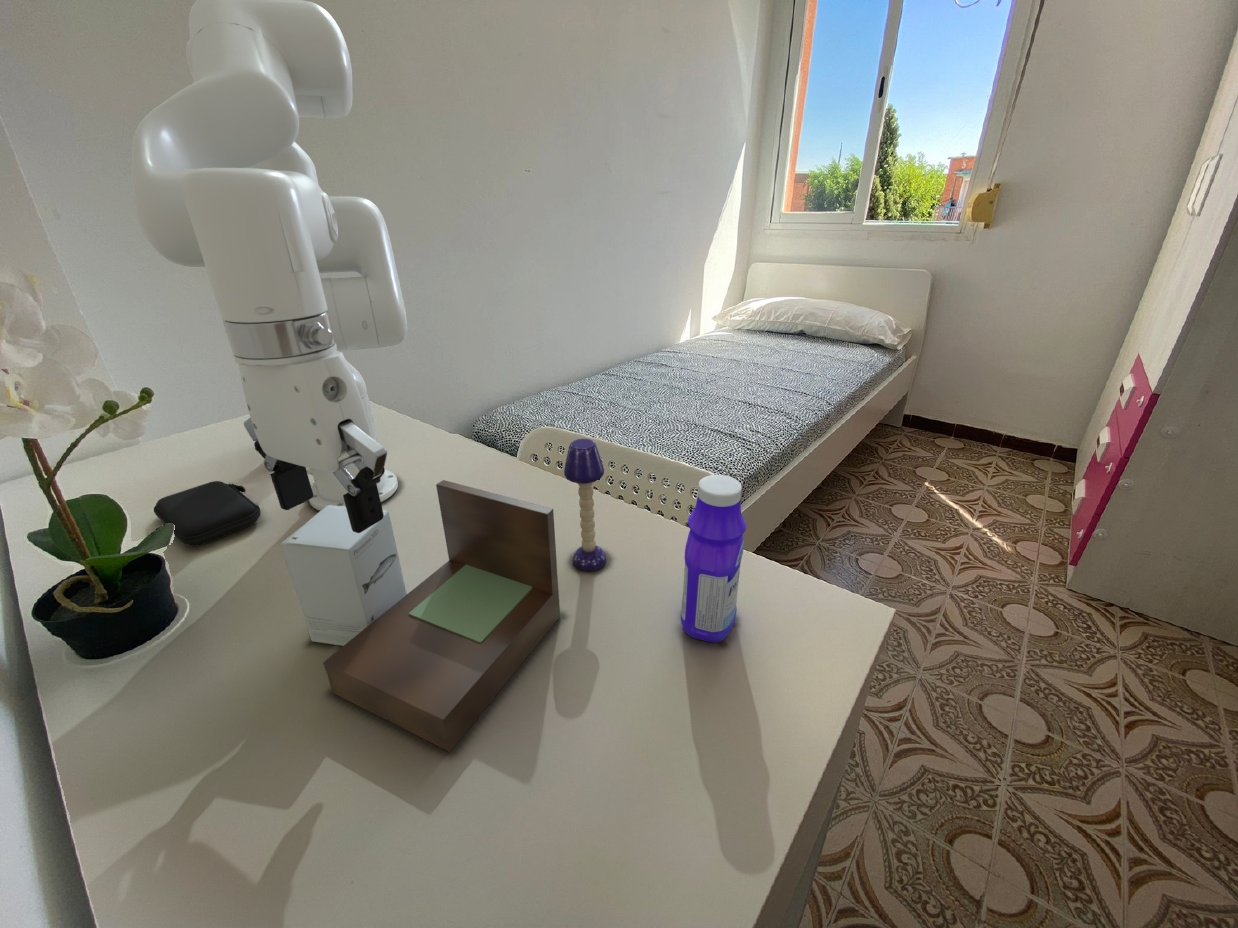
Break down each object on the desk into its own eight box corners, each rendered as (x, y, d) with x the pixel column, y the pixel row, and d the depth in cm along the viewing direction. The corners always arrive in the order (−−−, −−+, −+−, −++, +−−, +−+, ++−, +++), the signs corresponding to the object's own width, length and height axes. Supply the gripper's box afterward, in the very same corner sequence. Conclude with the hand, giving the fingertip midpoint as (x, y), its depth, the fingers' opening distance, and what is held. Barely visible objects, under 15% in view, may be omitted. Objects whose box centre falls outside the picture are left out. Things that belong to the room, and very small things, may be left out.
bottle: (727, 653, 55) (745, 507, 48) (673, 639, 57) (682, 496, 49) (739, 607, 62) (756, 471, 54) (689, 596, 63) (699, 462, 55)
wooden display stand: (332, 693, 51) (292, 573, 45) (460, 581, 66) (443, 479, 59) (449, 752, 46) (422, 626, 39) (560, 616, 60) (553, 508, 54)
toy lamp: (601, 575, 67) (598, 453, 59) (564, 571, 67) (557, 449, 60) (609, 553, 71) (608, 435, 63) (574, 548, 72) (569, 432, 64)
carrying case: (276, 520, 78) (236, 488, 86) (270, 502, 76) (230, 471, 85) (189, 555, 70) (154, 517, 78) (180, 535, 69) (145, 498, 77)
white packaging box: (375, 652, 56) (347, 550, 50) (309, 642, 57) (275, 542, 51) (411, 603, 62) (390, 508, 56) (352, 596, 63) (326, 502, 58)
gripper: (395, 337, 45) (428, 515, 52) (259, 320, 52) (306, 480, 59) (315, 359, 39) (365, 557, 46) (173, 337, 46) (237, 513, 53)
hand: (332, 514), depth 53 cm, fingers open, 9 cm apart
